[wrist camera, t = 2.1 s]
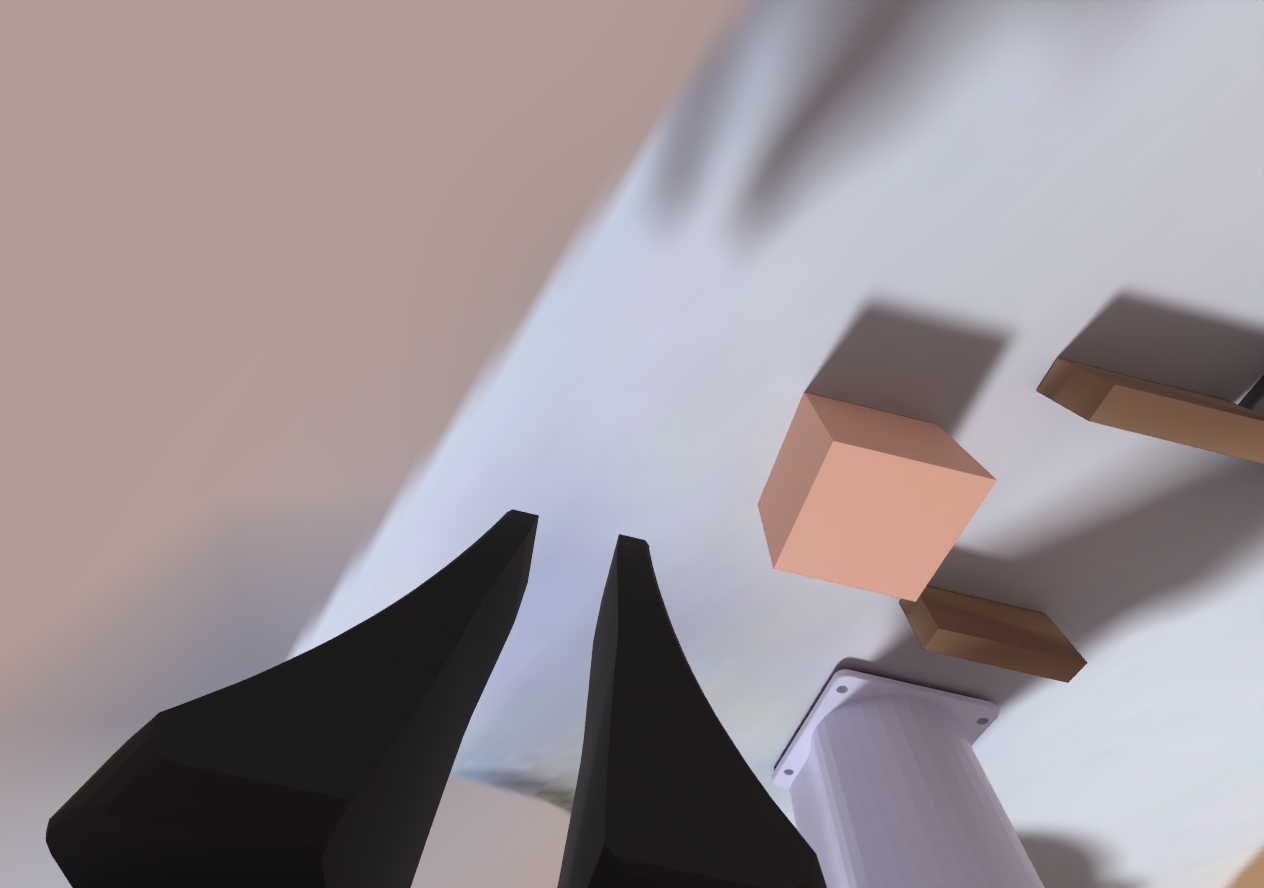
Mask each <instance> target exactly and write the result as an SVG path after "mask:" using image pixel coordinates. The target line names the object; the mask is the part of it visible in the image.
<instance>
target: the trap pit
mask: <svg viewBox="0 0 1264 888" xmlns="http://www.w3.org/2000/svg"><path fill="white" fill-rule="evenodd" d="M1240 406H1242V407H1245V408H1247V409H1250V410H1253V411H1255V412H1258V413H1260V414H1263V415H1264V377H1263V378H1262V379H1261V380H1260V382H1259V383H1258V384H1257V385H1256V386H1255V387H1254V388H1253V390H1252V391H1251V392H1250V393H1249V394H1248V395H1247V397H1246V398H1245V399H1244V400H1243V401H1242V402H1241V403H1240Z"/></svg>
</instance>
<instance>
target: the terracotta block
mask: <svg viewBox="0 0 1264 888" xmlns="http://www.w3.org/2000/svg"><path fill="white" fill-rule="evenodd" d="M996 481H997V480H996V479H995V478H994V477H993V476H992V475H991V474H990V473H989V472H988V471H987V470H986V469H984V468H983V467H982V466H981V465H980V464H979V463H978V462H977V461H976V460H975V459H974V458H973V457H972V456H970V455H969V454H968V453H967V452H966V451H965V450H964V449H963V448H962V447H961V446H960V445H959V444H958V443H957V442H955V441H954V440H953V439H952V438H951V437H950V436H949V435H948V434H947V433H946V432H945V431H944V430H943V429H942V428H940V427H939V426H938V425H937V424H933V423H929V422H925V421H921V420H917V419H912V418H908V417H904V416H900V415H896V414H892V413H888V412H884V411H879V410H875V409H871V408H867V407H863V406H859V405H855V404H851V403H847V402H842V401H838V400H834V399H830V398H826V397H822V396H818V395H814V394H809V393H805V392H804V394H803V396H802V398H801V401H800V403H799V406H798V408H797V411H796V413H795V415H794V418H793V420H792V423H791V425H790V427H789V430H788V432H787V435H786V437H785V440H784V442H783V444H782V447H781V449H780V452H779V454H778V457H777V459H776V461H775V464H774V466H773V469H772V471H771V473H770V476H769V478H768V481H767V483H766V486H765V488H764V490H763V493H762V495H761V498H760V500H759V502H758V508H759V512H760V516H761V520H762V524H763V528H764V532H765V536H766V540H767V544H768V548H769V552H770V556H771V560H772V564H773V569H776V570H780V571H785V572H789V573H793V574H798V575H802V576H806V577H811V578H815V579H819V580H824V581H828V582H832V583H837V584H841V585H845V586H849V587H854V588H858V589H862V590H867V591H871V592H875V593H880V594H884V595H888V596H893V597H897V598H901V599H906V600H910V601H914V602H916V601H917V599H918V598H919V596H920V595H921V593H922V592H923V590H924V589H925V587H926V586H927V584H928V583H929V581H930V580H931V578H932V577H933V575H934V574H935V572H936V571H937V569H938V568H939V566H940V565H941V563H942V562H943V560H944V559H945V557H946V556H947V554H948V553H949V551H950V550H951V548H952V547H953V545H954V544H955V542H956V541H957V539H958V538H959V536H960V535H961V533H962V532H963V530H964V529H965V527H966V526H967V524H968V523H969V521H970V520H971V518H972V517H973V515H974V514H975V512H976V511H977V509H978V508H979V506H980V505H981V503H982V502H983V500H984V499H985V497H986V496H987V494H988V493H989V491H990V490H991V488H992V487H993V485H994V484H995V482H996Z"/></svg>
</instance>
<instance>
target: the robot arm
mask: <svg viewBox="0 0 1264 888" xmlns="http://www.w3.org/2000/svg"><path fill="white" fill-rule="evenodd" d="M538 517H539V516H538V515H534V514H530V513H526V512H521V511H517V510H513V509H512V510H511V511H509V512H507V513H506V514H505V515H504V516H503V517H502V518H501V519H500V520H499V521H498V522H497V523H496V524H495V525H494V526H493V527H492V528H491V529H489V530H488V531H487V532H486V533H485V534H484V535H483V536H482V537H481V538H480V539H478V540H477V541H476V542H475V543H474V544H473V545H471V546H470V547H469V548H468V549H467V550H465V551H464V552H463V553H462V554H461V555H459V556H458V557H457V558H456V559H455V560H453V561H452V562H451V563H450V564H448V565H447V566H446V567H444V568H443V569H442V570H440V571H439V572H438V573H436V574H435V575H434V576H432V577H431V578H430V579H428V580H427V581H425V582H424V583H423V584H421V585H420V586H419V587H417V588H416V589H414V590H413V591H411V592H410V593H409V594H407V595H406V596H404V597H403V598H401V599H400V600H398V601H396V602H395V603H393V604H392V605H390V606H389V607H387V608H385V609H384V610H382V611H380V612H379V613H377V614H376V615H374V616H372V617H371V618H369V619H367V620H365V621H363V622H362V623H360V624H358V625H356V626H355V627H353V628H351V629H349V630H347V631H346V632H344V633H342V634H340V635H339V636H337V637H335V638H333V639H331V640H329V641H327V642H325V643H323V644H321V645H319V646H317V647H315V648H313V649H311V650H309V651H307V652H305V653H303V654H301V655H298V656H296V657H294V658H292V659H290V660H288V661H286V662H283V663H281V664H279V665H277V666H275V667H273V668H271V669H269V670H266V671H264V672H262V673H260V674H257V675H255V676H253V677H250V678H248V679H246V680H243V681H241V682H238V683H236V684H233V685H231V686H228V687H225V688H223V689H221V690H218V691H215V692H213V693H210V694H207V695H205V696H202V697H200V698H197V699H194V700H192V701H189V702H187V703H184V704H181V705H179V706H176V707H173V708H171V709H168V710H165V711H162V712H160V713H158V714H157V715H156V716H155V717H154V718H153V719H152V720H151V721H149V722H148V723H147V724H146V725H145V726H144V727H143V728H142V729H140V730H139V731H138V732H137V733H136V734H134V735H133V736H132V737H131V738H130V739H129V740H128V741H127V742H126V743H125V744H124V745H123V746H122V747H121V748H120V749H119V750H117V751H116V753H114V754H113V755H112V756H111V757H110V758H109V759H108V760H107V761H106V762H105V763H104V765H103V766H102V767H101V768H100V769H99V770H98V771H97V772H96V773H95V774H94V775H93V776H92V777H91V778H90V779H89V780H88V781H87V782H86V783H85V784H84V785H83V786H82V787H81V788H80V789H79V790H78V791H77V792H76V793H75V794H74V795H73V796H72V797H71V798H70V799H69V800H68V801H67V802H66V803H65V804H64V805H63V806H62V807H61V808H60V809H59V810H58V811H57V812H56V813H55V814H54V815H53V816H52V818H50V819H49V822H48V827H47V831H46V842H47V845H48V847H49V850H50V853H51V855H52V856H53V858H54V859H55V861H56V862H57V864H58V866H59V867H60V869H61V870H62V872H63V873H64V875H65V877H66V878H67V880H68V881H69V883H70V884H71V886H72V887H73V888H410V887H411V884H412V881H413V878H414V875H415V872H416V870H417V867H418V864H419V861H420V858H421V855H422V852H423V849H424V846H425V843H426V840H427V837H428V834H429V832H430V829H431V826H432V823H433V820H434V817H435V814H436V811H437V809H438V806H439V803H440V800H441V797H442V794H443V791H444V789H445V786H446V783H447V780H448V777H449V774H450V772H451V769H452V766H453V763H454V761H455V758H456V755H457V752H458V749H459V747H460V744H461V741H462V738H463V736H464V733H465V731H466V728H467V726H468V723H469V721H470V719H471V716H472V714H473V712H474V710H475V707H476V705H477V703H478V701H479V699H480V697H481V694H482V692H483V690H484V688H485V686H486V683H487V681H488V679H489V677H490V675H491V673H492V670H493V668H494V666H495V664H496V662H497V660H498V657H499V655H500V653H501V651H502V649H503V646H504V644H505V642H506V640H507V638H508V635H509V633H510V631H511V629H512V627H513V624H514V622H515V619H516V616H517V613H518V610H519V607H520V604H521V601H522V598H523V595H524V592H525V589H526V586H527V583H528V577H529V571H530V565H531V559H532V553H533V547H534V541H535V535H536V529H537V523H538ZM998 715H999V710H998V709H997V707H996V706H995V704H994V703H992V702H989V701H985V700H981V699H976V698H972V697H967V696H963V695H959V694H954V693H950V692H945V691H941V690H937V689H932V688H928V687H923V686H919V685H915V684H910V683H906V682H901V681H897V680H893V679H888V678H884V677H879V676H875V675H871V674H866V673H862V672H857V671H853V670H849V669H842V670H839V671H837V672H836V673H835V674H834V675H833V677H832V679H831V680H830V682H829V683H828V685H827V687H826V688H825V690H824V691H823V693H822V695H821V696H820V698H819V699H818V701H817V703H816V704H815V706H814V708H813V709H812V711H811V712H810V714H809V716H808V717H807V719H806V720H805V722H804V724H803V725H802V727H801V728H800V730H799V732H798V733H797V735H796V737H795V738H794V740H793V741H792V743H791V745H790V746H789V748H788V749H787V751H786V753H785V754H784V756H783V757H782V759H781V761H780V762H779V764H778V766H777V767H776V769H775V770H774V772H773V774H772V781H773V784H775V785H776V786H778V787H782V788H787V789H790V795H791V800H792V806H793V811H794V817H795V822H796V827H797V829H796V828H795V827H794V826H793V824H792V823H791V822H790V821H789V819H788V818H787V817H786V816H785V814H784V813H783V812H782V811H781V810H780V808H779V807H778V806H777V805H776V803H775V802H774V801H773V800H772V798H771V797H770V796H769V794H768V793H767V791H766V790H765V789H764V787H763V786H762V784H761V783H760V782H759V780H758V779H757V777H756V776H755V775H754V773H753V772H752V770H751V769H750V768H749V766H748V765H747V763H746V762H745V760H744V759H743V757H742V755H741V754H740V752H739V751H738V749H737V748H736V746H735V745H734V743H733V741H732V740H731V738H730V737H729V735H728V734H727V732H726V731H725V729H724V727H723V726H722V724H721V723H720V721H719V720H718V718H717V716H716V715H715V713H714V711H713V709H712V707H711V706H710V704H709V702H708V700H707V699H706V697H705V695H704V693H703V691H702V689H701V688H700V686H699V684H698V682H697V680H696V678H695V676H694V674H693V672H692V670H691V668H690V666H689V664H688V662H687V659H686V657H685V655H684V653H683V651H682V648H681V646H680V644H679V641H678V639H677V637H676V634H675V632H674V629H673V627H672V624H671V622H670V619H669V616H668V614H667V611H666V608H665V605H664V602H663V599H662V596H661V593H660V590H659V587H658V584H657V580H656V577H655V573H654V569H653V565H652V561H651V556H650V551H649V545H648V544H647V542H646V541H645V540H642V539H638V538H633V537H629V536H625V535H620V534H619V537H618V540H617V544H616V548H615V552H614V555H613V559H612V563H611V567H610V570H609V574H608V578H607V582H606V586H605V589H604V593H603V597H602V601H601V606H600V611H599V616H598V621H597V626H596V631H595V636H594V641H593V650H592V660H591V670H590V681H589V691H588V702H587V712H586V722H585V733H584V742H583V749H582V757H581V764H580V769H579V775H578V780H577V786H576V791H575V797H574V802H573V807H572V813H571V818H570V824H569V829H568V834H567V840H566V845H565V850H564V856H563V861H562V867H561V872H560V877H559V882H558V888H1044V886H1043V884H1042V882H1041V880H1040V878H1039V876H1038V874H1037V872H1036V870H1035V868H1034V866H1033V865H1032V863H1031V861H1030V859H1029V857H1028V855H1027V853H1026V851H1025V849H1024V847H1023V845H1022V843H1021V842H1020V840H1019V838H1018V836H1017V834H1016V832H1015V830H1014V828H1013V826H1012V824H1011V822H1010V820H1009V819H1008V817H1007V815H1006V813H1005V811H1004V809H1003V807H1002V805H1001V803H1000V801H999V799H998V797H997V796H996V794H995V792H994V790H993V788H992V786H991V784H990V782H989V780H988V778H987V776H986V774H985V772H984V771H983V769H982V767H981V765H980V763H979V761H978V759H977V757H976V755H975V753H974V751H973V749H972V748H971V745H972V744H973V743H974V742H975V741H976V740H977V739H978V738H979V737H980V735H981V734H982V733H983V732H984V731H985V730H986V729H987V728H988V727H989V725H990V724H991V723H992V722H993V721H994V720H995V719H996V718H997V716H998Z"/></svg>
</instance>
